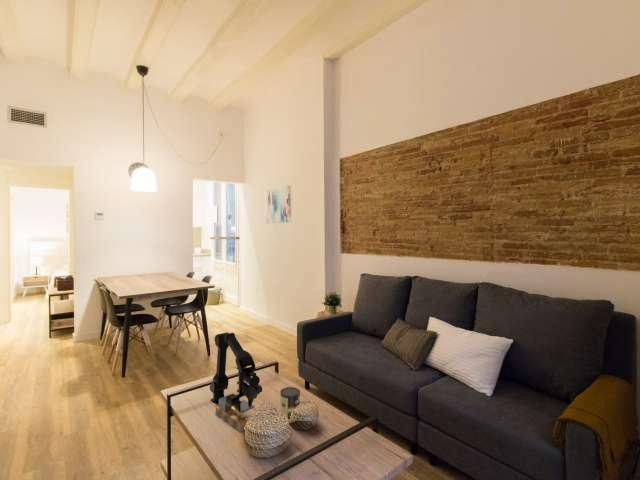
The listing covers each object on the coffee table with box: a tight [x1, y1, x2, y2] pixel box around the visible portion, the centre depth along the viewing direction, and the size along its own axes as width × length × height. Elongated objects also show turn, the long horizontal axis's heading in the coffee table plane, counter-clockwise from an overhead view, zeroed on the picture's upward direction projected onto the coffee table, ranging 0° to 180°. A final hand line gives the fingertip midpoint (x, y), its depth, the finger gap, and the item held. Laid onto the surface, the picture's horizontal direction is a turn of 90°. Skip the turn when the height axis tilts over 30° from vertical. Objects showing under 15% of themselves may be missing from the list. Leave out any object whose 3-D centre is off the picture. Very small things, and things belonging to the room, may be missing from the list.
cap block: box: [218, 395, 234, 412], centre depth 179 cm, size 6×5×5 cm
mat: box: [234, 399, 255, 414], centre depth 189 cm, size 10×10×1 cm
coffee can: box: [279, 386, 301, 419], centre depth 179 cm, size 10×10×14 cm
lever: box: [231, 406, 244, 418], centre depth 170 cm, size 5×1×6 cm
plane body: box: [214, 405, 250, 433], centre depth 175 cm, size 23×6×5 cm, turn 48°
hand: (244, 410), depth 173 cm, fingers open, 6 cm apart
